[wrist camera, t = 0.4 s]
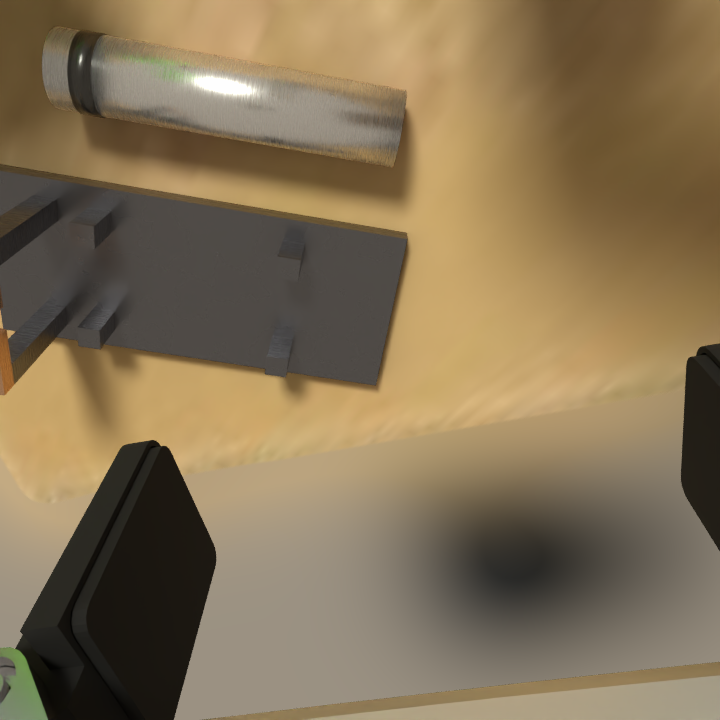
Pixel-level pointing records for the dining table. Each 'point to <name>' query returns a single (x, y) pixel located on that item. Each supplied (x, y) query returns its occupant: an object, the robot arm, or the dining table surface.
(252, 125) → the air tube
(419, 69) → the dining table surface
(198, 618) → the robot arm
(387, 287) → the saddle stand
